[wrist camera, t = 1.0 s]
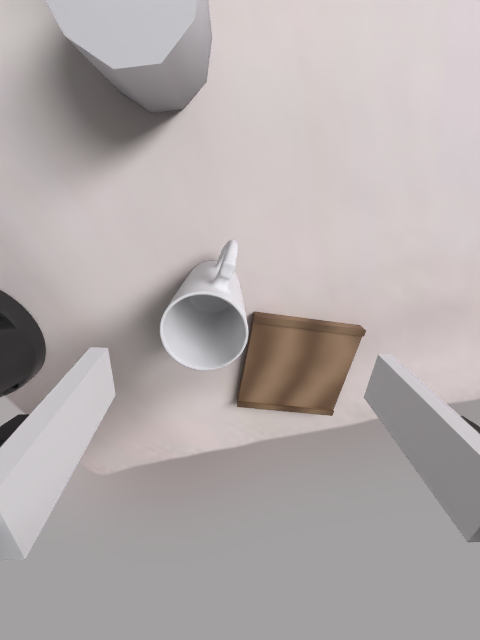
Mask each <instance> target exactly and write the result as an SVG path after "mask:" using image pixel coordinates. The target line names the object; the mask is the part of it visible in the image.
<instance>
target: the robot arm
mask: <svg viewBox="0 0 480 640" xmlns="http://www.w3.org/2000/svg"><path fill="white" fill-rule="evenodd" d="M45 353H46V349H45V342H44V338H43V335H42V333H41V331H40V328H39V327H38V325H37V323H36V322H35V320H34V319H33V318H32V316H31V315H30V314H29V313H28V312H27V310H26V309H25V308H24V307H23V306H21V305H20V304H19V303H18V302H17V301H16V300H14V299H13V298H12V297H10V296H9V295H7V294H6V293H4V292H2V291H1V290H0V397H2V396H4V395H7V394H9V393H11V392H14V391H16V390H17V389H19V388H20V387H22V386H23V385H25V384H26V383H27V382H28V381H29V380H30V379H31V378H33V377H34V376H35V375H36V374H37V373H38V372H39V370H40V369H41V367H42V365H43V363H44V360H45ZM115 395H116V393H115V387H114V381H113V375H112V369H111V364H110V358H109V352H108V348H100V347H90V348H89V350H88V351H87V352H86V353H85V354H84V355H83V356H82V357H81V358H80V360H79V361H78V362H77V363H76V364H75V365H74V366H73V367H72V368H71V369H70V371H69V372H68V373H67V374H66V375H65V376H64V377H63V378H62V379H61V381H60V382H59V383H58V384H57V385H56V386H55V387H54V388H53V389H52V391H51V392H50V393H49V394H48V395H47V396H46V397H45V398H44V399H43V401H42V402H41V403H40V404H39V405H38V406H37V407H36V408H35V409H34V411H33V412H32V413H31V414H30V415H17V416H16V417H14V418H13V419H11V420H10V421H8V422H7V423H5V424H3V425H2V426H1V427H0V560H20V559H25V558H26V557H27V555H28V553H29V551H30V549H31V548H32V546H33V544H34V542H35V540H36V538H37V537H38V535H39V533H40V531H41V529H42V528H43V526H44V524H45V522H46V520H47V519H48V517H49V515H50V513H51V511H52V509H53V508H54V506H55V504H56V502H57V500H58V499H59V497H60V495H61V493H62V491H63V490H64V488H65V486H66V484H67V482H68V480H69V479H70V477H71V475H72V473H73V471H74V470H75V468H76V466H77V464H78V462H79V460H80V459H81V457H82V455H83V453H84V451H85V450H86V448H87V446H88V444H89V442H90V441H91V439H92V437H93V435H94V433H95V431H96V430H97V428H98V426H99V424H100V422H101V421H102V419H103V417H104V415H105V413H106V411H107V410H108V408H109V406H110V404H111V402H112V401H113V399H114V397H115ZM364 398H365V400H366V401H367V403H368V404H369V405H370V407H371V408H372V410H373V411H374V412H375V414H376V415H377V417H378V418H379V419H380V421H381V422H382V424H383V425H384V426H385V428H386V429H387V431H388V432H389V433H390V435H391V436H392V438H393V439H394V440H395V442H396V443H397V444H398V446H399V447H400V449H401V450H402V451H403V453H404V454H405V455H406V457H407V458H408V460H409V461H410V463H411V464H412V465H413V467H414V468H415V469H416V471H417V472H418V474H419V475H420V477H421V478H422V479H423V481H424V482H425V483H426V485H427V486H428V488H429V489H430V491H431V492H432V493H433V495H434V496H435V498H436V499H437V500H438V502H439V503H440V504H441V506H442V507H443V509H444V510H445V511H446V513H447V514H448V516H449V517H450V518H451V520H452V521H453V523H454V524H455V525H456V527H457V528H458V530H459V531H460V532H461V534H462V535H463V536H464V538H465V539H466V541H467V542H480V427H479V426H478V425H476V424H474V423H473V422H471V421H469V420H468V419H466V418H465V417H463V416H459V415H458V414H457V413H456V412H455V411H454V410H453V409H452V408H450V407H449V406H448V405H447V404H446V403H445V402H444V401H443V400H442V399H441V398H440V397H438V396H437V395H436V394H435V393H434V392H433V391H432V390H431V389H430V388H429V387H427V386H426V385H425V384H424V383H423V382H422V381H421V380H420V379H419V378H418V377H416V376H415V375H414V374H413V373H412V372H411V371H410V370H409V369H408V368H407V367H405V366H404V365H403V364H402V363H401V362H400V361H399V360H398V359H397V358H396V357H394V356H393V355H378V357H377V360H376V363H375V366H374V369H373V372H372V375H371V377H370V380H369V383H368V386H367V389H366V392H365V395H364Z"/></svg>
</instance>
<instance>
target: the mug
mask: <svg viewBox="0 0 480 640" xmlns="http://www.w3.org/2000/svg"><path fill="white" fill-rule="evenodd" d="M237 250H238V243H237V242H236V241H235V240H230V241H228V242H227V243H226V245H225V246H224V247H223V249H222V251H221V254H220V256H219V259H218V262H217V261H207V262H203V263H201V264H199V265H197V266H196V267H195V268H194V269H193V270H192V271H191V272H190V274H189V275H188V276H187V278H186V279H185V281H184V282H183V284H182V285H181V287H180V288H179V290H178V291H177V293H176V294H175V296H174V297H173V299H172V300H171V302H170V303H169V305H168V307H167V309H166V310H165V312H164V314H163V316H162V318H161V322H160V337H161V341H162V344H163V346H164V348H165V350H166V351H167V352H168V354H169V355H170V356H171V357H172V358H173V359H174V360H175V361H177V362H178V363H180V364H181V365H183V366H185V367H188V368H191V369H194V370H202V371H208V370H215V369H219V368H222V367H225V366H227V365H229V364H230V363H232V362H233V361H235V360H236V359H237V358H238V357H239V356H240V354H241V353H242V352H243V350H244V348H245V346H246V343H247V340H248V324H247V318H246V312H245V308H244V303H243V298H242V293H241V288H240V284H239V280H238V278H237V275H236V274H235V272H234V270H235V267H236V266H235V263H236V258H237Z"/></svg>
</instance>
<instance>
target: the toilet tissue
mask: <svg viewBox="0 0 480 640" xmlns="http://www.w3.org/2000/svg"><path fill="white" fill-rule="evenodd" d="M45 1H46V3H47V4H48V6H49V8H50V10H51V12H52V14H53V16H54V17H55V19H56V21H57V23H58V25H59V27H60V29H61V30H62V32H63V34H64V36H65V37H66V38H67V39H68V40H69V41H70V42H71V43H72V44H73V45H74V46H75V47H76V48H77V49H78V50H79V51H80V52H81V53H82V54H83V55H84V56H85V57H86V58H87V59H88V60H89V61H90V62H91V63H92V64H93V65H94V66H95V67H96V68H97V69H98V70H99V71H100V72H101V73H102V74H103V75H104V76H105V77H106V78H107V79H108V80H109V81H110V82H111V83H112V84H113V85H114V86H115V87H116V88H117V89H118V90H119V91H120V92H121V93H122V94H124V95H125V96H127V97H128V98H130V99H131V100H133V101H134V102H136V103H137V104H139V105H140V106H142V107H143V108H145V109H146V110H148V111H149V112H151V113H157V112H165V111H173V110H181V109H184V108H185V107H186V106H187V105H188V103H189V102H190V101H191V100H192V99H193V97H194V96H195V95H196V94H197V93H198V91H199V90H200V89H201V88H202V87H203V85H204V84H205V83H206V82H207V74H208V66H209V58H210V50H211V42H212V32H211V23H210V13H209V3H208V0H45Z"/></svg>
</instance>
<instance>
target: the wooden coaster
mask: <svg viewBox="0 0 480 640" xmlns="http://www.w3.org/2000/svg"><path fill="white" fill-rule="evenodd" d="M365 332H366V330H365V329H364V328H363V327H361V326H360V325H352V324H345V323H337V322H330V321H322V320H314V319H307V318H299V317H292V316H284V315H276V314H269V313H261V312H254V315H253V320H252V325H251V331H250V336H249V341H248V346H247V351H246V356H245V361H244V367H243V372H242V377H241V382H240V387H239V392H238V398H237V407H245V408H256V409H267V410H277V411H288V412H298V413H309V414H320V415H330V416H332V415H333V413H334V411H333V409H334V407H335V404H336V402H337V399H338V397H339V394H340V391H341V389H342V386H343V384H344V381H345V379H346V376H347V374H348V371H349V369H350V366H351V364H352V361H353V359H354V356H355V353H356V351H357V348H358V346H359V343H360V341H361V338H362V336H364V335H365Z"/></svg>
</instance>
